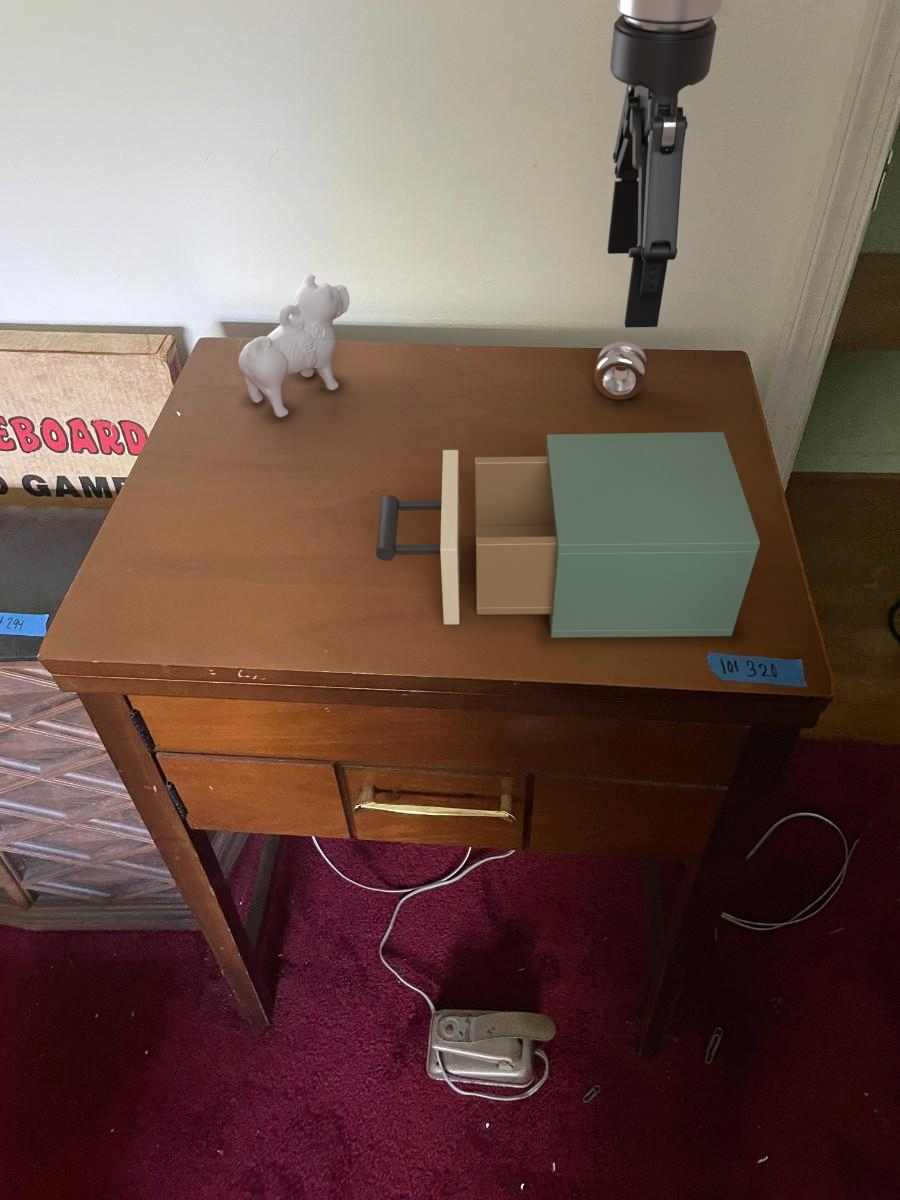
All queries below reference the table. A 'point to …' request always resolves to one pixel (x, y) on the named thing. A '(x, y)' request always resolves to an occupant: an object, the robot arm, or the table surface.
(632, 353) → the metal grooved wheel
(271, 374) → the dog figurine
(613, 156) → the robot arm
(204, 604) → the table surface
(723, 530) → the cabinet
